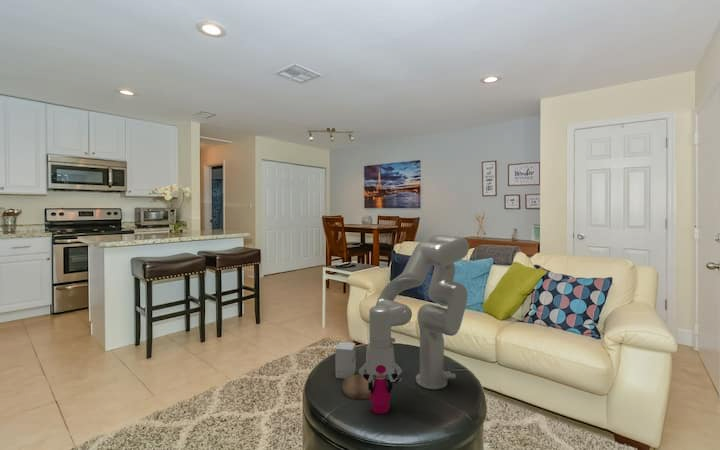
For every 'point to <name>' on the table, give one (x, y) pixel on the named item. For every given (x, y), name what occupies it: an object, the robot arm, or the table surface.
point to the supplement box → (345, 360)
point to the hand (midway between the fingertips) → (380, 390)
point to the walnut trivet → (356, 387)
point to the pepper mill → (380, 392)
